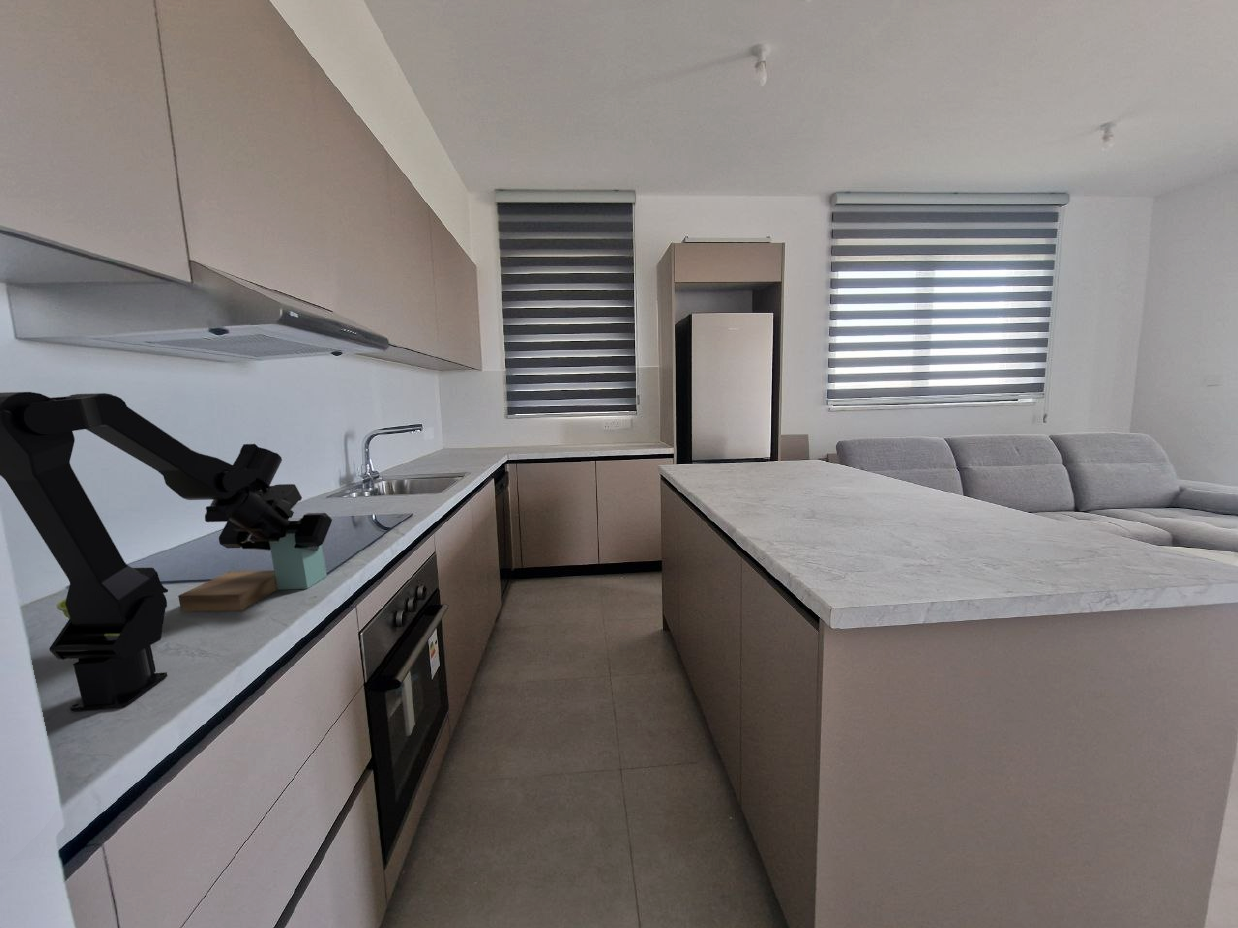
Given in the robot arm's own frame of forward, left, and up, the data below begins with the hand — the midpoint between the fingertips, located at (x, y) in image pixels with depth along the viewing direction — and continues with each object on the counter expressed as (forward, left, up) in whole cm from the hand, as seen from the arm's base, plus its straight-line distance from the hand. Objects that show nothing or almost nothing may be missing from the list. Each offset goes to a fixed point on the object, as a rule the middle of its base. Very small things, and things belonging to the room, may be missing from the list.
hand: (302, 549), depth 95 cm
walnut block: (-6, +9, -7) cm, 13 cm away
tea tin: (-1, 0, -7) cm, 7 cm away
